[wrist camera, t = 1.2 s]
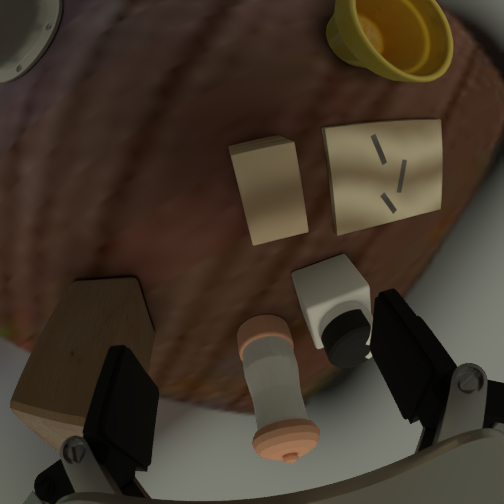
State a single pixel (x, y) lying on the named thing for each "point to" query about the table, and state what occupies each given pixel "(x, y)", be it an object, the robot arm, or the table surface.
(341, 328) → the medicine bottle
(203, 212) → the table surface
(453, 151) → the table surface
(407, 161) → the board
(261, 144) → the block
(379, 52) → the plant pot
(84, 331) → the wooden block
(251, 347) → the pepper shaker
